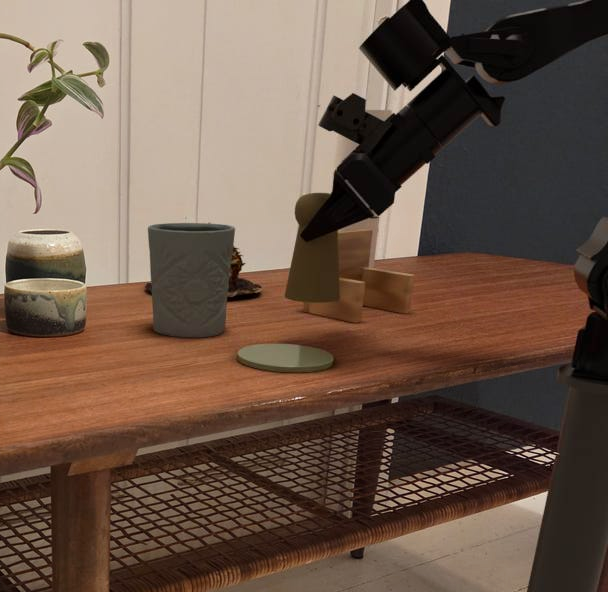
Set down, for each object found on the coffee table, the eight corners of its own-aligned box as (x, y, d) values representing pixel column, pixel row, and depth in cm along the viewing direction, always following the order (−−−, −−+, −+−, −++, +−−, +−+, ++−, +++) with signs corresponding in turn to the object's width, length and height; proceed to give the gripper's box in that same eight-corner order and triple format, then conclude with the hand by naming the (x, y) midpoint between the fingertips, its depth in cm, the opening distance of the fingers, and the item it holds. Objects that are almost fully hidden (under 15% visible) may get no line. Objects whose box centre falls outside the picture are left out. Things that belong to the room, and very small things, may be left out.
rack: (410, 312, 117) (420, 235, 113) (355, 323, 111) (364, 241, 107) (357, 302, 123) (365, 228, 120) (302, 311, 117) (309, 233, 113)
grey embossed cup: (199, 342, 99) (204, 233, 95) (128, 330, 105) (129, 226, 100) (245, 328, 107) (251, 225, 102) (176, 317, 112) (179, 219, 108)
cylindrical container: (313, 287, 134) (329, 109, 125) (354, 285, 136) (373, 110, 127) (337, 295, 128) (356, 109, 119) (380, 293, 130) (402, 110, 121)
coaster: (348, 358, 94) (349, 353, 93) (307, 378, 86) (308, 372, 86) (264, 344, 99) (265, 339, 99) (219, 361, 92) (219, 356, 91)
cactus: (136, 298, 124) (137, 226, 120) (153, 280, 138) (154, 215, 135) (259, 304, 121) (264, 231, 117) (263, 285, 136) (268, 219, 132)
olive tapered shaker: (282, 301, 95) (290, 194, 91) (285, 291, 101) (293, 190, 97) (340, 303, 94) (350, 196, 90) (339, 294, 100) (349, 192, 95)
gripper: (372, 70, 96) (264, 175, 103) (372, 58, 79) (243, 184, 86) (437, 148, 97) (326, 246, 104) (451, 152, 81) (318, 270, 87)
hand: (304, 235), depth 95 cm, fingers closed on olive tapered shaker, 5 cm apart
